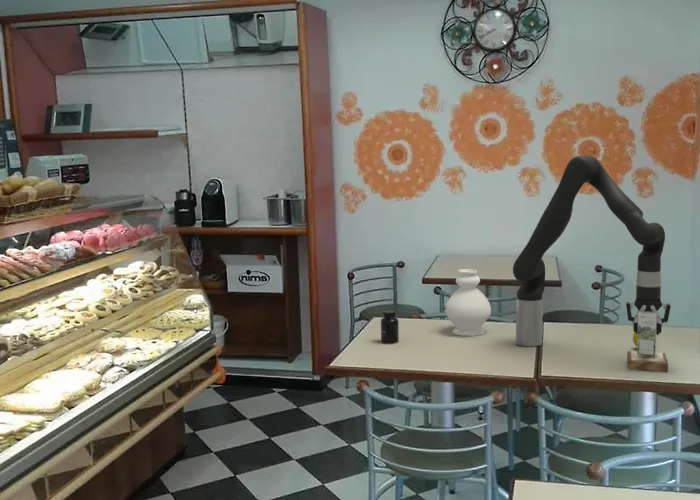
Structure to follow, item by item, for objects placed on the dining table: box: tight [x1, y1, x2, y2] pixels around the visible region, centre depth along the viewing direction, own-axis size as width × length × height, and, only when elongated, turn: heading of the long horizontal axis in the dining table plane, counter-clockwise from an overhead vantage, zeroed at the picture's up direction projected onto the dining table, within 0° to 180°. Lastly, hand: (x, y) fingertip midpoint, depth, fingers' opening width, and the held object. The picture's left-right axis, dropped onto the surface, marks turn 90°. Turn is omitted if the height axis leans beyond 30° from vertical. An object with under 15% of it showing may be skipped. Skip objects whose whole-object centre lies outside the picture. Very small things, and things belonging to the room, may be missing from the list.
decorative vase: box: [445, 268, 492, 337], centre depth 306 cm, size 18×18×25 cm
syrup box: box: [636, 311, 658, 356], centre depth 255 cm, size 6×6×14 cm
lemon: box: [632, 331, 638, 347], centre depth 275 cm, size 6×6×8 cm
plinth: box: [626, 350, 669, 373], centre depth 257 cm, size 12×12×3 cm
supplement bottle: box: [380, 309, 400, 345], centre depth 297 cm, size 7×7×12 cm
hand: (647, 333), depth 255 cm, fingers closed on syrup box, 6 cm apart
